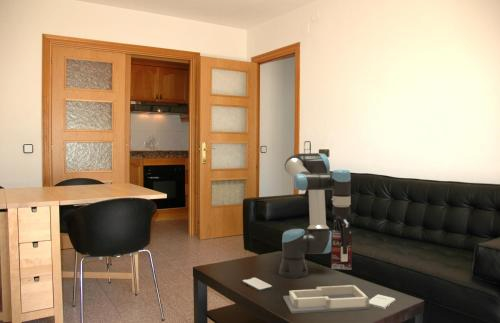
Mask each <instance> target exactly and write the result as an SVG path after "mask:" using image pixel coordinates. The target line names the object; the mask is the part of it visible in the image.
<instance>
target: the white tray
mask: <svg viewBox="0 0 500 323" xmlns="http://www.w3.org/2000/svg"><path fill="white" fill-rule="evenodd" d="M288 294H289V295H283V297H282V298H283V301H284V303H286V306H287V308H288V309H289V312H290V313H291V314H309V313H311V314H312V313H326V312H327V313H328V312H329V313H330V312H341V311H345V312H346V311H359V310H363V311H364V310H370V307H371V306H369V300H370V297H369V296H367V295H366V294H365V293H364V292H363V291H362V290H361V289H360V288H359V287H357V286H356V285H355V284H347V285H346V284H345V285H332V286H331V285H327V286H316V287H315V289H314V288H310V289H296V290H295V289H294V290H293V289H292V290H288Z"/></svg>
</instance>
